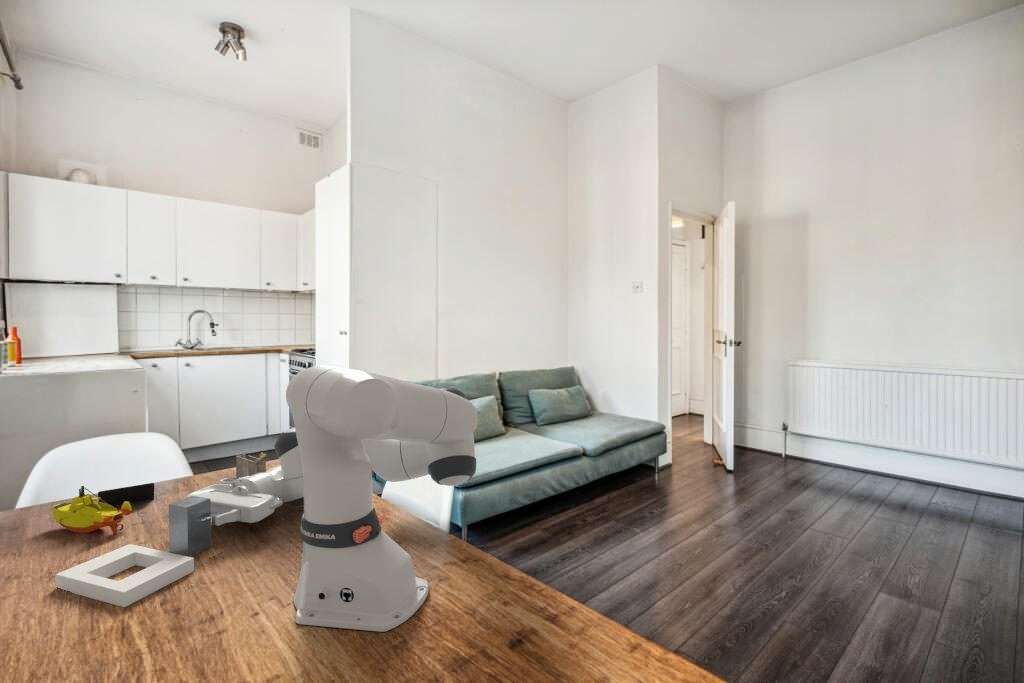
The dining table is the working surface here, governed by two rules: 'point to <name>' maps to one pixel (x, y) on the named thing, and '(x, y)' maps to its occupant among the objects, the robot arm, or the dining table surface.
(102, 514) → the toy boat
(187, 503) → the grey metal block
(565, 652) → the dining table surface
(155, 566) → the white rectangular frame
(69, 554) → the dining table surface
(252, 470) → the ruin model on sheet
